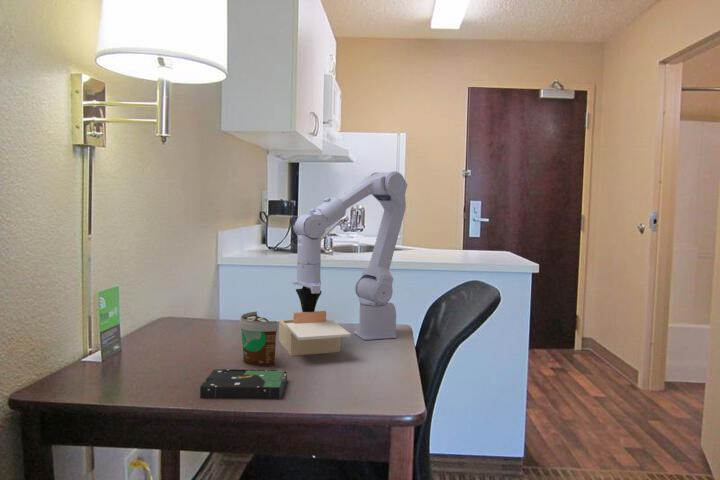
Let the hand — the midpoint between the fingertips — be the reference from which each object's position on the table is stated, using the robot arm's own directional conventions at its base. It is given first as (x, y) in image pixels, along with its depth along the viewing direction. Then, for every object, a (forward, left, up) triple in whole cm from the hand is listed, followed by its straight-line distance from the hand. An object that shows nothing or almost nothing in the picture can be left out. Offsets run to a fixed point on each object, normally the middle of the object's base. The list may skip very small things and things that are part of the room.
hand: (308, 317), depth 133 cm
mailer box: (0, +1, -7) cm, 7 cm away
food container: (+15, +10, -7) cm, 19 cm away
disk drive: (+19, +26, -8) cm, 33 cm away
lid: (0, +8, -1) cm, 8 cm away
